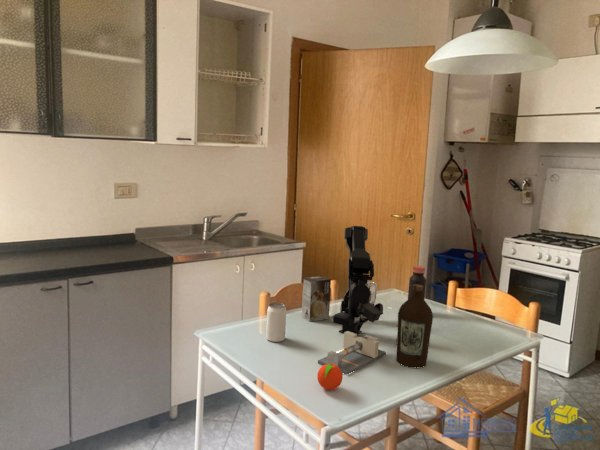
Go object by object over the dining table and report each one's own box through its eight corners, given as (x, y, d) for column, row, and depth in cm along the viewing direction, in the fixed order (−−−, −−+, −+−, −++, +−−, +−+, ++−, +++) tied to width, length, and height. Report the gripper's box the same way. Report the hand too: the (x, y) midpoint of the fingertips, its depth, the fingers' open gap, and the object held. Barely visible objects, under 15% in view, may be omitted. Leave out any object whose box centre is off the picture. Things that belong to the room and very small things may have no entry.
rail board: (357, 345, 168) (357, 342, 168) (385, 354, 161) (386, 351, 161) (317, 363, 151) (317, 360, 151) (347, 375, 144) (347, 371, 144)
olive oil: (397, 353, 163) (403, 279, 160) (430, 359, 160) (437, 284, 156) (391, 365, 153) (397, 286, 150) (425, 372, 150) (433, 292, 146)
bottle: (424, 316, 203) (429, 269, 201) (408, 315, 203) (412, 268, 201) (421, 311, 210) (425, 265, 207) (405, 310, 210) (409, 264, 207)
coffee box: (320, 314, 199) (322, 275, 197) (329, 319, 194) (331, 279, 191) (300, 316, 194) (303, 277, 192) (309, 321, 189) (311, 281, 187)
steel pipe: (366, 345, 166) (367, 334, 165) (376, 348, 163) (377, 338, 163) (326, 364, 149) (327, 352, 149) (337, 368, 146) (338, 356, 146)
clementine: (336, 398, 130) (338, 373, 129) (311, 392, 133) (313, 367, 132) (344, 386, 138) (346, 361, 137) (321, 380, 140) (322, 356, 139)
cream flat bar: (346, 345, 164) (347, 330, 163) (377, 356, 156) (378, 341, 155) (343, 346, 162) (344, 332, 161) (374, 358, 154) (375, 342, 154)
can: (282, 343, 166) (284, 309, 164) (263, 341, 167) (265, 306, 165) (286, 336, 172) (288, 303, 170) (268, 334, 173) (270, 301, 172)
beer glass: (377, 320, 195) (380, 283, 193) (369, 324, 190) (372, 286, 187) (361, 316, 199) (363, 280, 197) (353, 320, 193) (356, 283, 191)
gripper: (362, 305, 149) (359, 354, 151) (393, 294, 163) (390, 339, 166) (333, 296, 156) (330, 343, 158) (365, 287, 170) (362, 330, 173)
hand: (354, 339), depth 164 cm, fingers closed
